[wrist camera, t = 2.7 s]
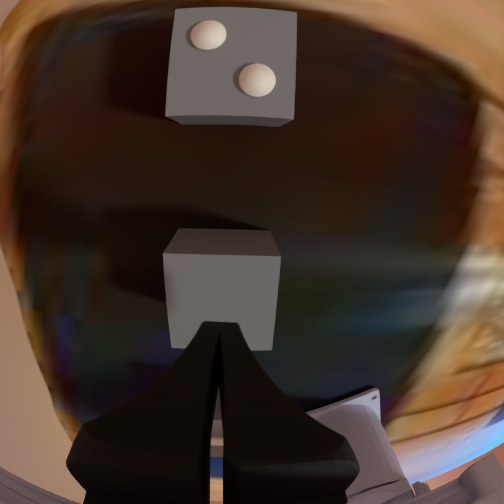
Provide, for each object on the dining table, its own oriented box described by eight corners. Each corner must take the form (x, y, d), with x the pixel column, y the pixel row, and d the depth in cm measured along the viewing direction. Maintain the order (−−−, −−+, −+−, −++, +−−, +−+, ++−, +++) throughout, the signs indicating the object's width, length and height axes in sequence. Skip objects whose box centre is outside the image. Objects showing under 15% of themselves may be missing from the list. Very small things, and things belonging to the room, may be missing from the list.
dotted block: (278, 126, 14) (294, 118, 10) (182, 124, 14) (163, 115, 10) (282, 42, 13) (297, 10, 9) (188, 39, 12) (174, 7, 8)
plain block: (264, 309, 18) (271, 350, 14) (182, 307, 18) (171, 347, 14) (270, 230, 16) (280, 256, 12) (178, 228, 16) (162, 253, 12)
